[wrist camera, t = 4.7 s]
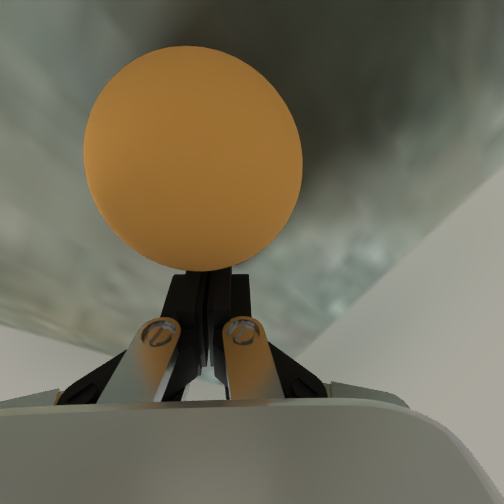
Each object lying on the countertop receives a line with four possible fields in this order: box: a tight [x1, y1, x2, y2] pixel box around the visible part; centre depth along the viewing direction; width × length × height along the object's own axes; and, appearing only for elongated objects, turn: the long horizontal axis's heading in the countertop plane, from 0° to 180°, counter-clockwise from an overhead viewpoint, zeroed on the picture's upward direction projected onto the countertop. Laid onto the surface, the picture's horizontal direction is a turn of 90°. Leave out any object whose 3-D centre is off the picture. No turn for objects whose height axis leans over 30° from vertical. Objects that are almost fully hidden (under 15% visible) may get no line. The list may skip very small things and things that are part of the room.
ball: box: [84, 46, 303, 271], centre depth 8 cm, size 6×6×6 cm
